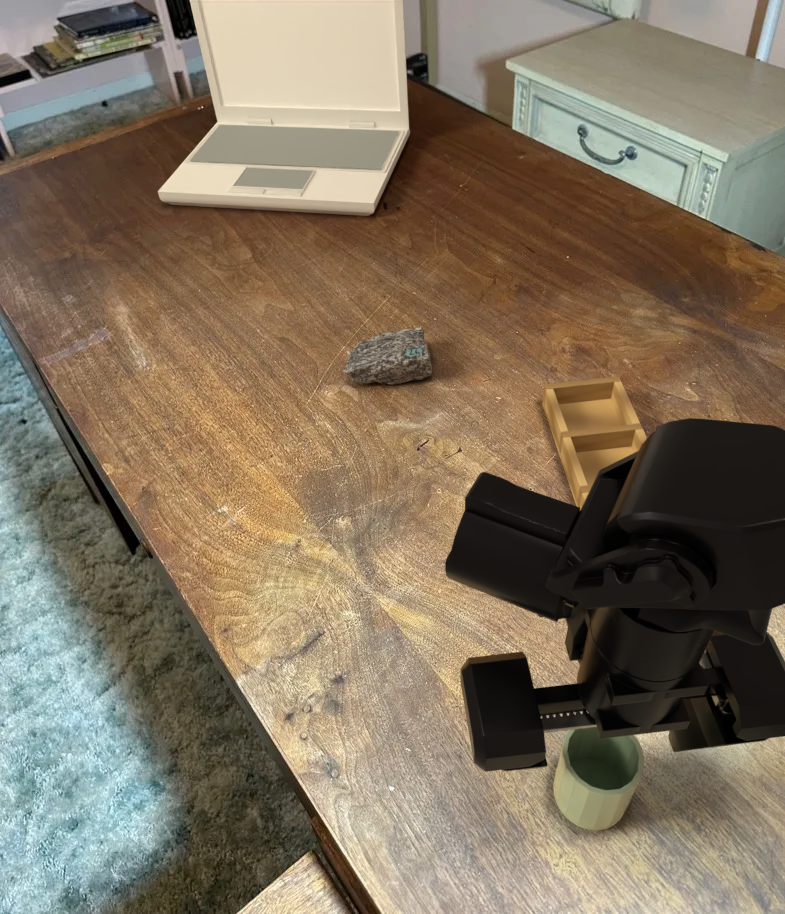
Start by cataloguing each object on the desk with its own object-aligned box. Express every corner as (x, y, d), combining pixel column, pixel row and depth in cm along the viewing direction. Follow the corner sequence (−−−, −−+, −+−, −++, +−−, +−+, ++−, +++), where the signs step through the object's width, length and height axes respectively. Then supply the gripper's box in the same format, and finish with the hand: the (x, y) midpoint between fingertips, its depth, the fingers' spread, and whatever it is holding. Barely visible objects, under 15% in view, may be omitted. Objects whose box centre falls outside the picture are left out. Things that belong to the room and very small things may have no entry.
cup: (636, 826, 54) (655, 790, 49) (563, 834, 54) (573, 799, 49) (615, 752, 58) (629, 712, 53) (546, 760, 58) (554, 721, 53)
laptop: (162, 207, 121) (101, 8, 101) (223, 133, 139) (181, -49, 118) (375, 219, 114) (356, 9, 94) (410, 140, 132) (401, -51, 111)
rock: (348, 349, 94) (344, 321, 91) (431, 345, 93) (430, 317, 90) (345, 390, 88) (341, 362, 85) (433, 386, 88) (432, 358, 85)
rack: (688, 565, 69) (696, 545, 67) (599, 575, 69) (604, 556, 67) (615, 396, 85) (619, 375, 83) (542, 404, 85) (544, 384, 83)
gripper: (758, 493, 45) (698, 630, 57) (446, 528, 45) (448, 659, 56) (854, 664, 38) (762, 782, 49) (478, 707, 37) (473, 817, 49)
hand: (605, 752), depth 51 cm, fingers open, 9 cm apart
